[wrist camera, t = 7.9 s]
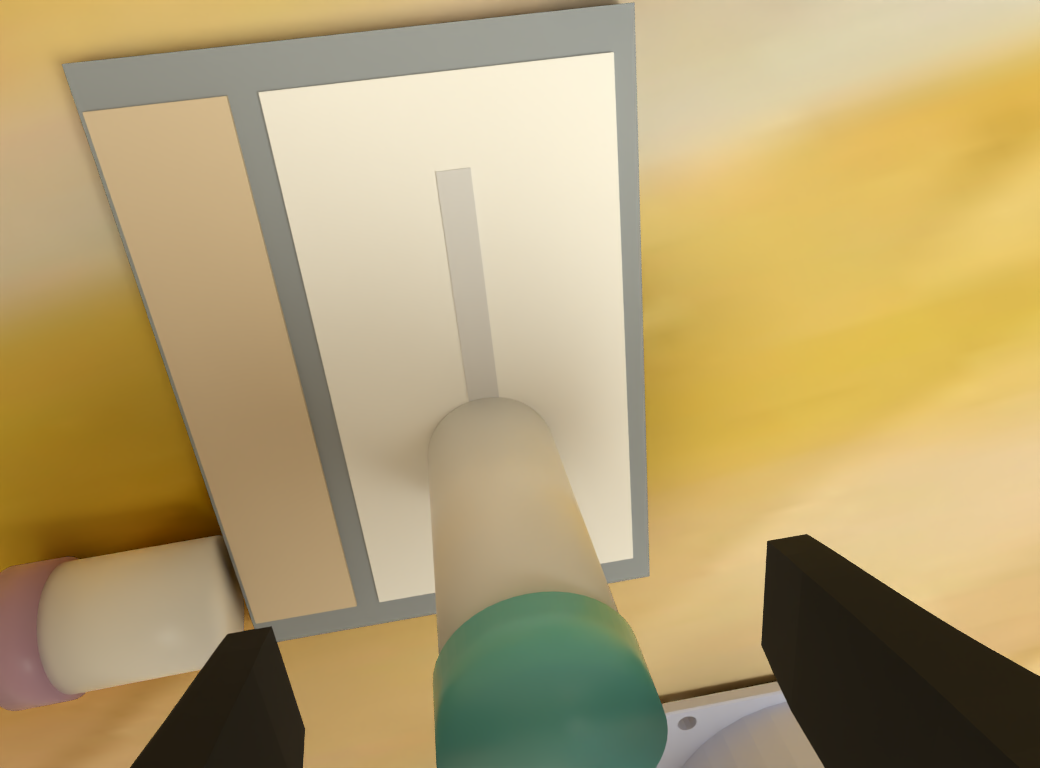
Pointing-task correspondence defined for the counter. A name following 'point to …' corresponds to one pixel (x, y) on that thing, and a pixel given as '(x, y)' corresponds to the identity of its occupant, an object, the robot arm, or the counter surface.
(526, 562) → the marker teal
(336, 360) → the board
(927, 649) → the robot arm
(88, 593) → the marker plum
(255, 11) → the counter surface
